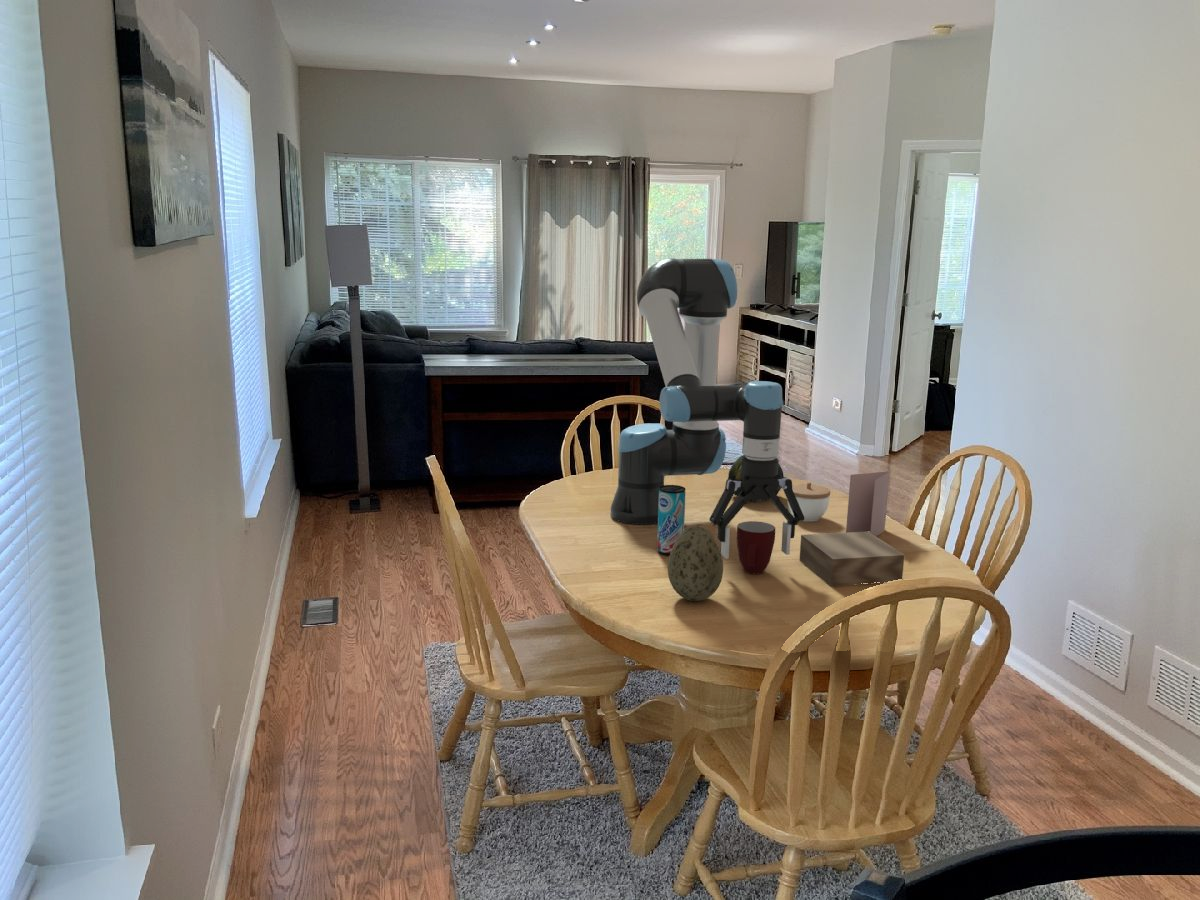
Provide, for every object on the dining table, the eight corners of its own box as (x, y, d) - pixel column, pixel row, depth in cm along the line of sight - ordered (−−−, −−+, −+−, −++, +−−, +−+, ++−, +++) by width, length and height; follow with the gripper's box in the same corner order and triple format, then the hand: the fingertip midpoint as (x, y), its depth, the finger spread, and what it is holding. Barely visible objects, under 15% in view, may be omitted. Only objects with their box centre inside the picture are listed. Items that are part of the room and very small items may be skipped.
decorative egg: (701, 586, 191) (704, 515, 187) (732, 604, 182) (736, 530, 178) (656, 594, 186) (658, 522, 182) (686, 613, 177) (689, 538, 173)
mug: (773, 583, 193) (776, 537, 191) (734, 580, 194) (736, 535, 192) (772, 566, 203) (775, 522, 201) (735, 563, 204) (737, 520, 202)
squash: (713, 471, 262) (736, 440, 251) (758, 469, 268) (782, 438, 257) (731, 514, 254) (756, 483, 243) (776, 510, 261) (802, 480, 250)
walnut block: (830, 586, 192) (833, 559, 190) (799, 560, 207) (801, 534, 206) (901, 582, 195) (904, 555, 193) (865, 556, 210) (867, 531, 209)
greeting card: (882, 528, 231) (887, 470, 227) (901, 538, 224) (907, 477, 221) (843, 533, 227) (848, 473, 223) (862, 542, 220) (867, 481, 216)
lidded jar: (817, 527, 231) (820, 490, 229) (778, 518, 237) (780, 483, 235) (834, 517, 240) (837, 482, 237) (796, 509, 246) (799, 475, 244)
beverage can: (651, 551, 211) (653, 487, 208) (668, 546, 215) (671, 483, 212) (671, 558, 207) (673, 493, 204) (688, 552, 211) (691, 488, 208)
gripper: (708, 462, 187) (704, 563, 191) (824, 458, 192) (817, 556, 196) (697, 454, 194) (693, 551, 198) (809, 451, 199) (803, 545, 203)
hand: (755, 554), depth 197 cm, fingers open, 13 cm apart
